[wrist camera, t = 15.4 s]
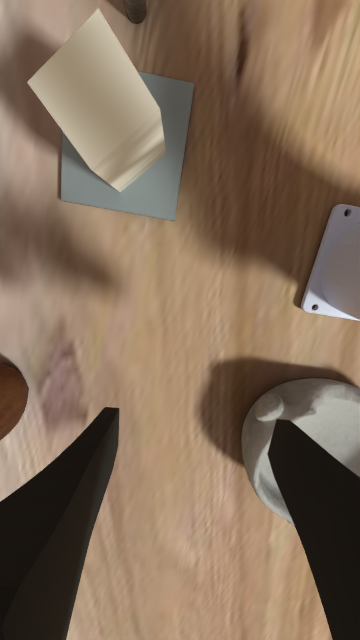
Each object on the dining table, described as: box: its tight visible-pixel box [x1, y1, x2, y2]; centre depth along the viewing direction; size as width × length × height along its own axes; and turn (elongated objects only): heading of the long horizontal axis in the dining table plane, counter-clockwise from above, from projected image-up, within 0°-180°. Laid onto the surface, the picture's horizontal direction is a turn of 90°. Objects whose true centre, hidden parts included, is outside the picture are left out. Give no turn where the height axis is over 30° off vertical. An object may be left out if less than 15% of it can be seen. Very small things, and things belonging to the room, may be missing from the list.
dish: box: [241, 378, 360, 526], centre depth 22 cm, size 14×14×5 cm
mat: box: [61, 71, 195, 221], centre depth 17 cm, size 8×8×1 cm
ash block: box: [27, 8, 166, 192], centre depth 13 cm, size 4×4×6 cm
